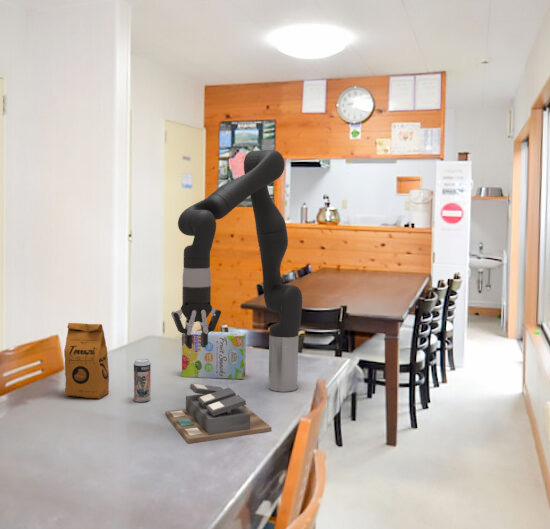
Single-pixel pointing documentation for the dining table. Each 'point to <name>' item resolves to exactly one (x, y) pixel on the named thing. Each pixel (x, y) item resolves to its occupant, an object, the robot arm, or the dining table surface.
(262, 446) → the dining table surface
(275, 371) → the robot arm
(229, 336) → the snack box
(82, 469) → the dining table surface
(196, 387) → the rocker
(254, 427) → the switch panel
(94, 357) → the coffee package
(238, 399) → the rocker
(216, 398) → the block
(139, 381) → the beer can
